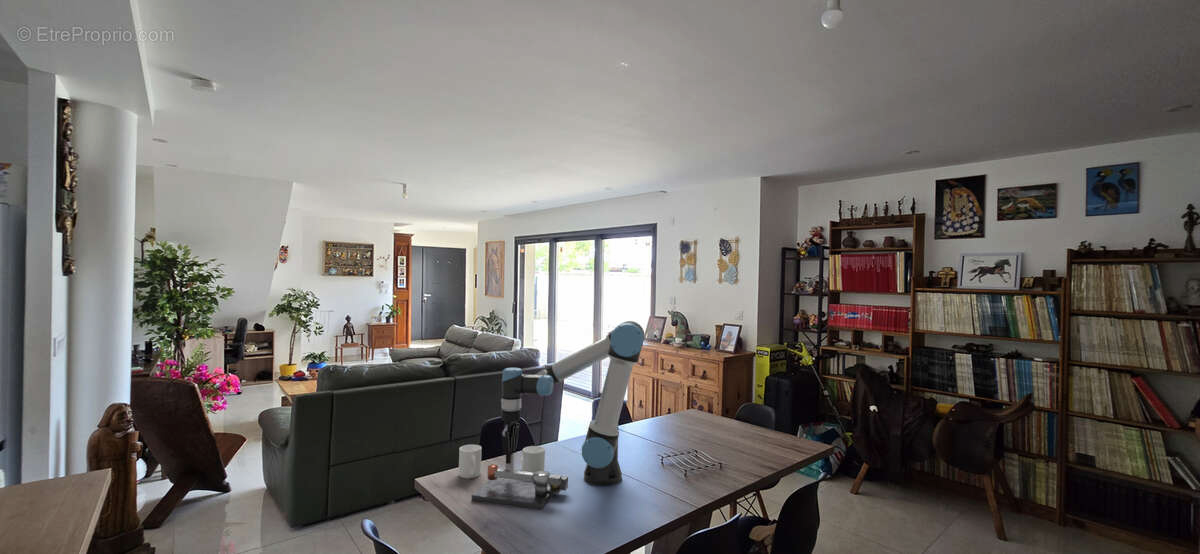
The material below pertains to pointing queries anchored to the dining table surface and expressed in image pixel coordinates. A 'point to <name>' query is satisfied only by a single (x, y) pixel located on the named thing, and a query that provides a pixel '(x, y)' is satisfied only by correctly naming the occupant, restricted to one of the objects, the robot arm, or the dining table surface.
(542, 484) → the lever
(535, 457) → the mug
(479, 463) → the mug
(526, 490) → the press base
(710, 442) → the dining table surface
